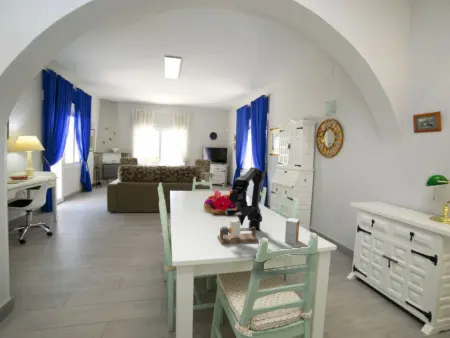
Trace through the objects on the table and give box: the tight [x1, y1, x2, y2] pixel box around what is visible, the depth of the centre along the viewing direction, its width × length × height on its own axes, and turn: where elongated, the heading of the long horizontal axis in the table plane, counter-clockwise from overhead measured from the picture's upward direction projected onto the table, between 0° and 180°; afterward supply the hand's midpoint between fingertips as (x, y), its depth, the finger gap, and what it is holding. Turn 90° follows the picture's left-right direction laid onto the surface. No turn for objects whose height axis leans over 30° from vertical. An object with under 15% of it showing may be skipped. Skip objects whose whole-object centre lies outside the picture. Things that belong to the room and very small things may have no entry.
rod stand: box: [216, 226, 260, 246], centre depth 140 cm, size 22×11×8 cm, turn 105°
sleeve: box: [229, 219, 241, 235], centre depth 140 cm, size 5×4×8 cm
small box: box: [284, 217, 300, 246], centre depth 140 cm, size 8×6×13 cm
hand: (241, 225), depth 140 cm, fingers closed
